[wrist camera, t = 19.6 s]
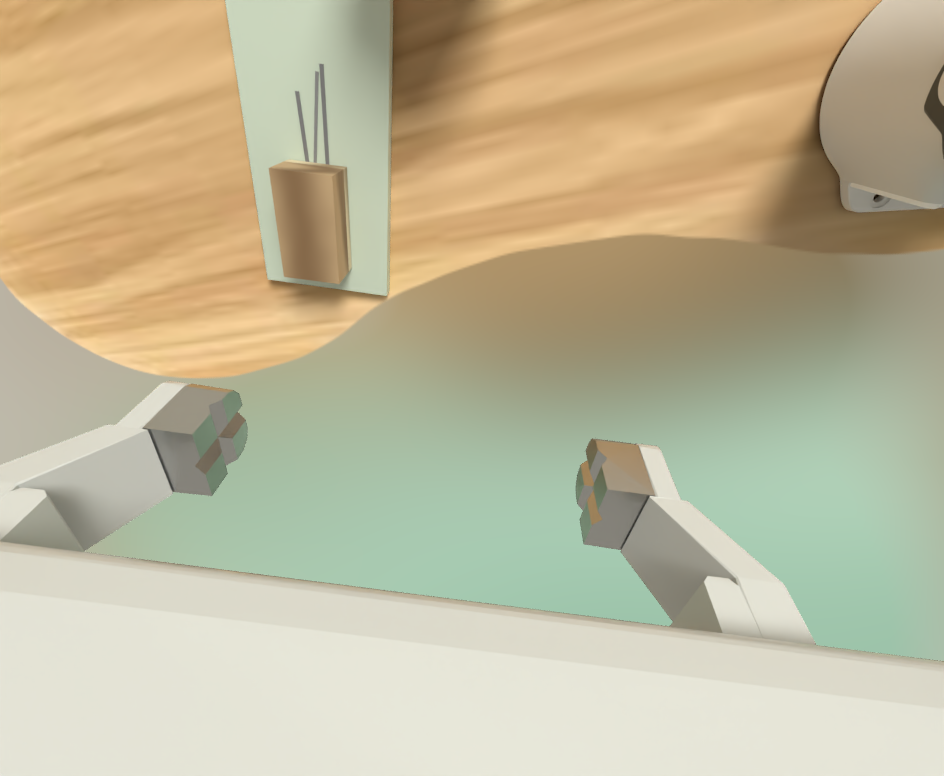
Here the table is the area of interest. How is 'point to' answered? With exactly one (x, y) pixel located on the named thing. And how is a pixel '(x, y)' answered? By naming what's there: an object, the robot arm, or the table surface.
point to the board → (320, 114)
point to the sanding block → (312, 220)
